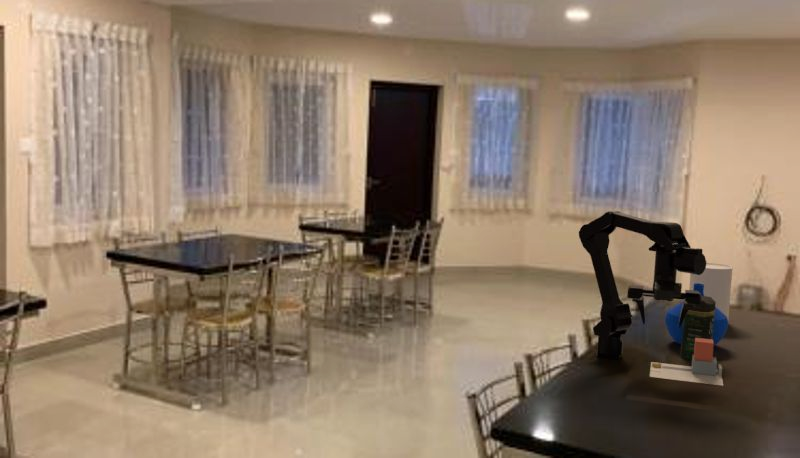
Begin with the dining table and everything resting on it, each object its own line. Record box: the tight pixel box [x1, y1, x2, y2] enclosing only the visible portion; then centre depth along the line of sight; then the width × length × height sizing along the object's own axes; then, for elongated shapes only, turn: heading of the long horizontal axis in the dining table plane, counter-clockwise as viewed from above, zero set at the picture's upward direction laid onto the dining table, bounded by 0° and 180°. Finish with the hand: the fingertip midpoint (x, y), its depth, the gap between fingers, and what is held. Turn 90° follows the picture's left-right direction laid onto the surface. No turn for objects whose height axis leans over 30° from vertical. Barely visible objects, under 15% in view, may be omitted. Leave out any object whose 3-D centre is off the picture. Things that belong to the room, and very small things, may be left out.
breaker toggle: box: [691, 355, 718, 376], centre depth 212 cm, size 6×6×4 cm
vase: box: [664, 283, 729, 346], centre depth 244 cm, size 18×18×19 cm
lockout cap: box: [694, 338, 715, 362], centre depth 212 cm, size 4×4×5 cm
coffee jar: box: [679, 296, 716, 361], centre depth 227 cm, size 10×8×19 cm
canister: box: [688, 262, 733, 320], centre depth 278 cm, size 14×14×20 cm
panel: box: [649, 361, 724, 387], centre depth 211 cm, size 18×15×3 cm
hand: (661, 325), depth 215 cm, fingers open, 9 cm apart
